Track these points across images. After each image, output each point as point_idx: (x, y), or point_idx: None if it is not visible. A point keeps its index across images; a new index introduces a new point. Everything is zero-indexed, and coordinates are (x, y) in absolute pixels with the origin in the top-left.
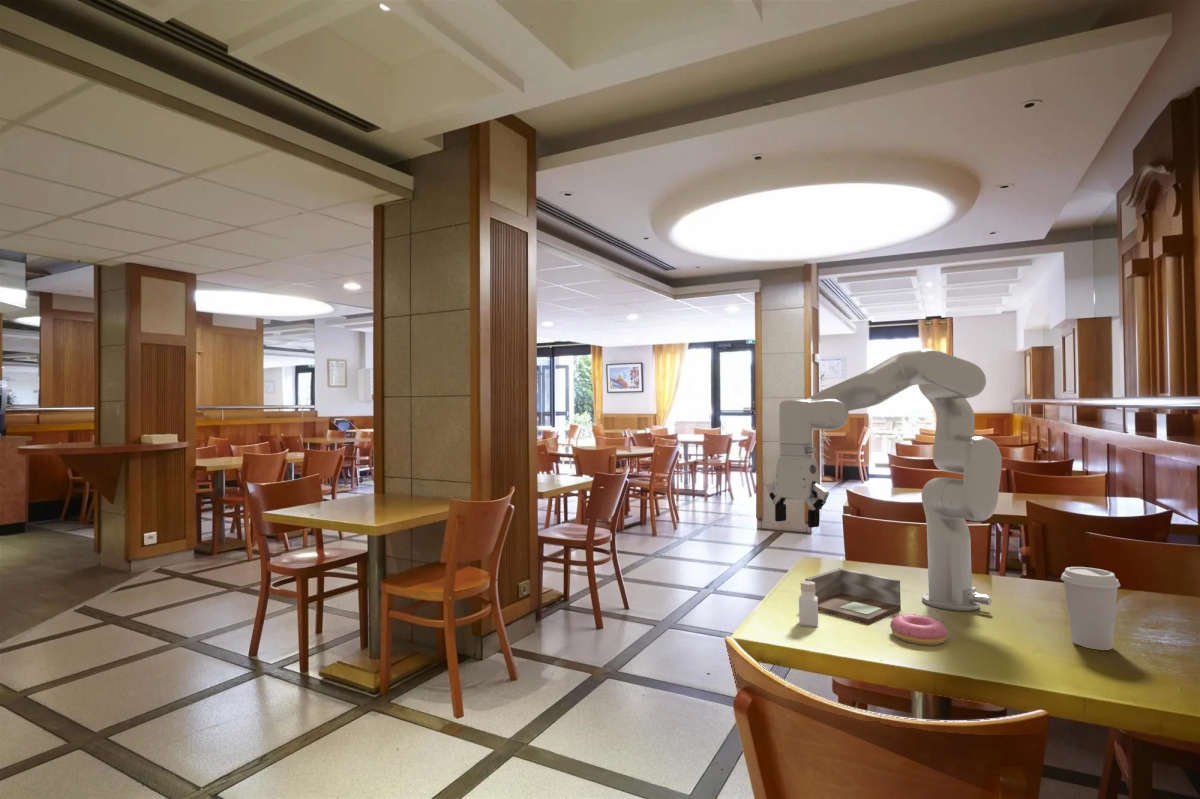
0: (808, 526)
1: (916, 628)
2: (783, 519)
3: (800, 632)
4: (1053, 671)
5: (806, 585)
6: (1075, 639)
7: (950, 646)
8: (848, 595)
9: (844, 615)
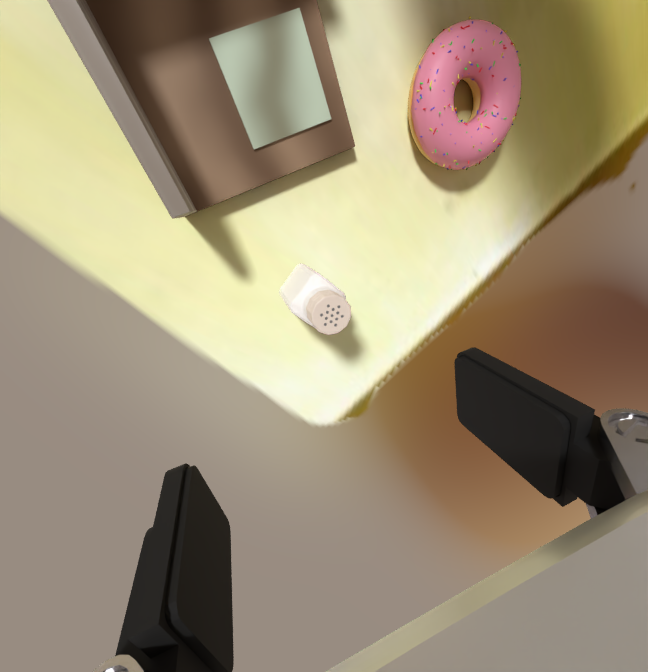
0: (459, 419)
1: (495, 145)
2: (204, 490)
3: None
4: (640, 20)
5: (342, 327)
6: None
7: None
8: None
9: (294, 171)
